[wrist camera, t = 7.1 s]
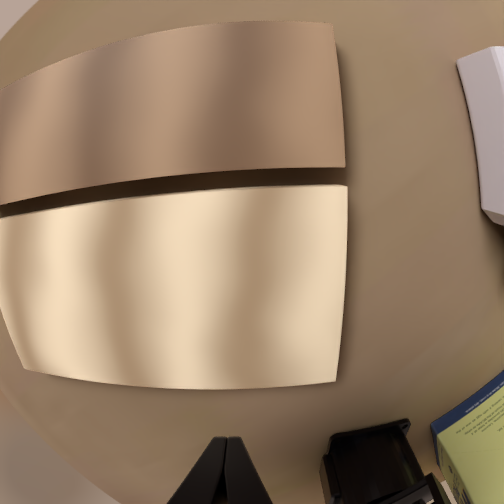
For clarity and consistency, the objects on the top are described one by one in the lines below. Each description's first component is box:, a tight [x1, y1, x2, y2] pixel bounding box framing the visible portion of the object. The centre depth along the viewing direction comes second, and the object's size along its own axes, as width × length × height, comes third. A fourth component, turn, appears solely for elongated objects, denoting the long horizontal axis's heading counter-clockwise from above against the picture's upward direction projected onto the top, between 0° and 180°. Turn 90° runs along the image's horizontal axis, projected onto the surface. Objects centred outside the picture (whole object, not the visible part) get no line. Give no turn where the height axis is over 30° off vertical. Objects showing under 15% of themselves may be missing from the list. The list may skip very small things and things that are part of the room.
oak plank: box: [0, 184, 347, 389], centre depth 14 cm, size 20×10×2 cm, turn 93°
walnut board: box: [0, 21, 345, 205], centre depth 12 cm, size 20×7×2 cm, turn 93°
